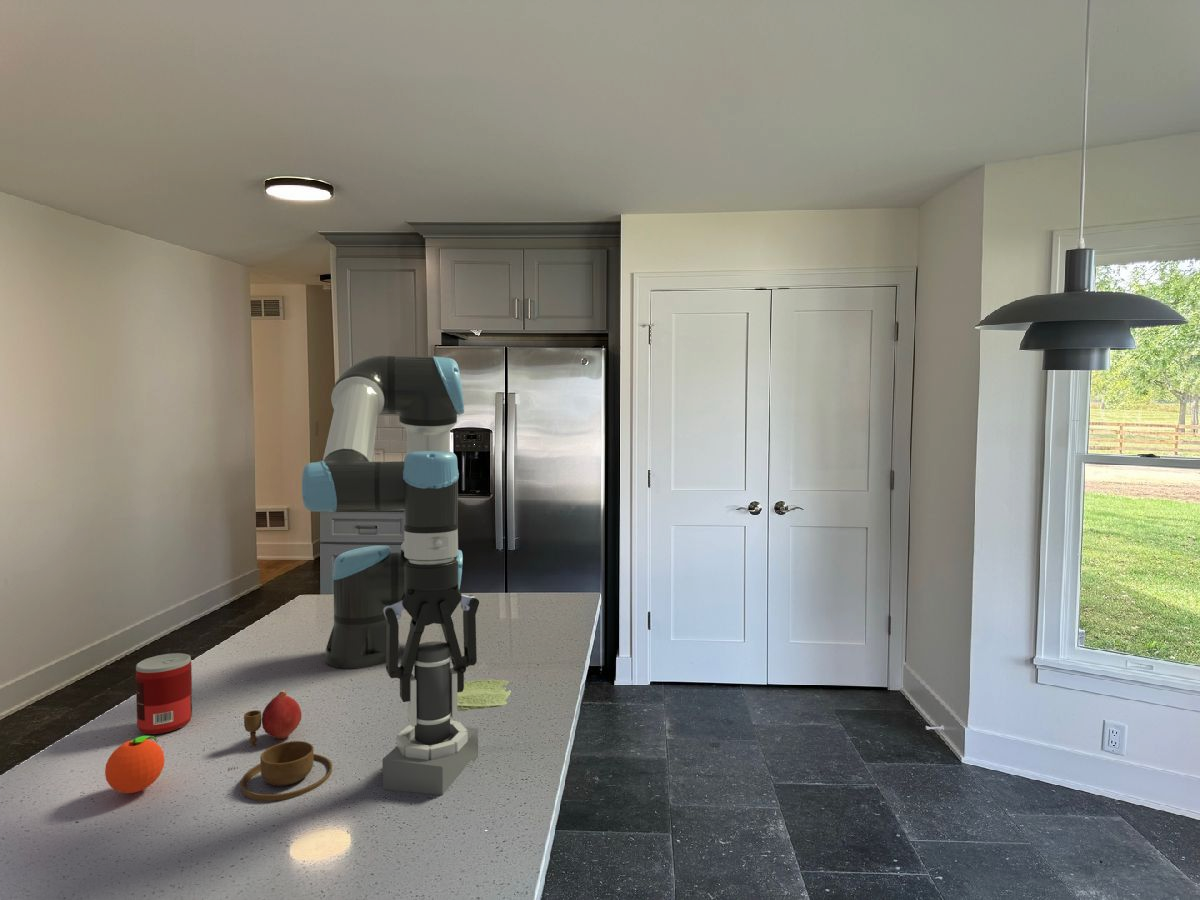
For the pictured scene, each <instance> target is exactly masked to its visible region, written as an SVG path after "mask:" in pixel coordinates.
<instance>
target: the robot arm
mask: <svg viewBox="0 0 1200 900" xmlns="http://www.w3.org/2000/svg"><path fill="white" fill-rule="evenodd" d="M460 372H461V371H460V368H459V365H458V363H457V361H456V360H455V359H454V358H450V357H442V356H434V355H433V356H431V355H430V356H429V355H428V356H427V355H424V356H423V355H419V356H418V355H416V356H415V355H376V356H371V357H367V358H364V359H362V360H360V361H358V362H356V363H355V364H353V365H351V366H350V367H348V369H346V371H344V372H343V373H342V374H341V375H340V376H339V378H338V379H336V381H335V383H334V386H333V388H332V392H331V397H330V398H331V399H330V400H331V401H330V402H331V405H332V408H333V413H332V418H331V423H330V427H329V431H328V436H327V440H326V445H325V448H324V449H325V450H324V454H323V459H322V460H320V461H316V462H314V461H313V462H308V463H307V464H305V466H304V467H303V470H302V476H301V496H302V503H303V505H304V508H305V509H306V510H307V511H309V512H317V513H318V512H321V513H322V512H325V513H326V512H327V513H328V512H329V513H330V514H334V513H339V512H340V513H342V512H343V513H345V512H362V511H365V512H366V511H404V513H403V514H404V530H403V533H404V534H403V535H404V537H403V538H404V540H403V542H402V543H401V545H400V551H398V552H392V549H391V547H390V546H389V545H387V544H386V545H369V546H364V547H359V548H354V549H351V550H348V551H344V552H342V553H340V554H339V555H337V556H336V558H335V560H334V561H333V575H332V576H331V577H332V578H331V579H332V580H333V626H332V629H331V632H330V635H329V638H328V641H327V644H326V648H325V653H324V654H325V655H324V656H325V658H324V659H325V663H326V664H327V665H329V666H331V667H335V668H338V669H339V668H340V669H366V668H371V667H376V666H380V665H382V664H385V670H386V672H387V673H386V674H387V675H388V676H389V677H390V679H399V697H400V699H401V701H402V702H403V703H406V702H407V703H406V710H407V711H406V714H407V715H406V718H407V722H408V723H409V725H411V726H415V725H417V707H416V679H415V677H414V674H413V672H414V663H415V659H416V655H417V651H418V647H419V644H421V639H422V635H423V634H424V631H425V628H426V626H427V627H428V626H430V625H434V624H436V625H437V624H438V625H440V626H441V630H442V633H443V636H444V639H445V643H447V644H448V645H449V646H450V655H451V660H450V662H451V664H452V666H453V667H452V666H450V711H451V717H450V718H452V719H455V718H458V711H457V693H458V692H463V689H464V682H465V673H466V671H467V668H468V667H470V666H475V664H477V661H478V660H477V627H476V626H477V625H476V623H477V622H476V620H477V618H476V614H477V611H478V607H479V605H480V601H479V599H478V598H477V597H475V596H474V595H473V594H470V595H465V594H462V592H461V591H460V589H461V582H462V575H463V562H464V561H463V560H464V558H463V557H464V556H463V551H462V550H461V549H459V535H458V534H459V531H458V530H459V529H458V528H459V522H458V520H459V518H458V513H459V512H458V510H459V509H458V507H459V477H460V476H459V475H460V473H459V469H458V457H457V455H456V454H455V453H454V452H452V451H450V431H451V429H452V428H453V427H454V426H456V425H457V423H458V416H461V415H463V414H464V413H465V406H464V405H465V403H464V393H463V387H462V379H461V373H460ZM381 414H398V415H399V417H398V418H399V419H398V420H399V421H398V422H399V424H400V425H401V426H402V427H404V429H405V430H406V436H407V437H406V439H407V441H406V444H407V445H406V447H407V448H406V449H407V453H406V455H404V457H403V458H404V460H401V461H374V453H375V444H376V443H375V442H376V433H377V423H378V416H380V415H381ZM459 604H460V607H461V609H462V623H463V624H462V625H463V628H462V629H463V655H462V652H461V649H460V645H459V642H458V637H457V635H456V630H455V627H454V626H455V625H454V621H453V618H452V615H453V614H454V612H455V610H456V609H457V607H458V606H459ZM403 610H405V611H406V612H407V613H408V614H409V616H410V617H411V620H410V622H409V630H408V635H407V640H406V643H405V646H404V651H403V654H402V659H401V662H400V666H399V655H400V652H401V648H400V640H399V633H400V632H399V631H400V630H399V626H400V625H399V621H398V620H401V618H402V611H403Z"/></svg>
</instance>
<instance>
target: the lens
mask: <svg viewBox="0 0 1200 900" xmlns="http://www.w3.org/2000/svg"><path fill="white" fill-rule="evenodd" d="M450 668H451V655H450V646H449V645H448V644H447V643H446V641H445V642H443V641H427V642H422V643H421V642H420V643H419V647H418V651H417V655H416V659H415V663H414V667H413V672H414V674H413V676H414V677H415V679H416V707H417V725H415V739H416V740H417V741H418V742H421V743H437V742H441V741H444V740H446V739H447V738H448V737H449V736H450V720H451V718H452V717H451V711H450Z"/></svg>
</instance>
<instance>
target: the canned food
mask: <svg viewBox="0 0 1200 900" xmlns="http://www.w3.org/2000/svg"><path fill="white" fill-rule="evenodd" d="M191 657H192V656H191V655H190V654H187V653H181V652H177V653H175V652H174V653H173V652H172V653H166V654H160V655H155V656H152V657H148V658H145V659H143V660H140V661H139V662H137V664H135V696H136V697H135V698H136V699H135V700H136V701H135V702H136V724H137V725H136V726H137V728H138V731H139V732H140V733H142V734H145V735H156V734H157V735H158V734H165V733H168V732H172V731H176V730H178V729H181V728H183V727H185V726H186V725H188V724H189V723H190V722H191V720H192V717H193V685H192V684H193V681H192V680H193V677H192V675H193V671H192V659H191Z"/></svg>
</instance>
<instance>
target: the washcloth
mask: <svg viewBox="0 0 1200 900" xmlns="http://www.w3.org/2000/svg"><path fill="white" fill-rule="evenodd" d="M509 683H510V682H509V680H504V679H492V678H488V679H480V680H479V679H477V680H464V689H463V692H458V693H457V712H459V711H460V712H461V711H462V712H463V711H470V710H478V709H490V708H491V709H492V708H494V707H496V708H497V707H502V706H505V705H507V704H508V702H507V701H506V700H507V699H508V698H509V696H510V694H511V692H512V690H511V689H509V690H508V691H506V689H507V688H506V687H503V686H507V685H508V684H509Z"/></svg>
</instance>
